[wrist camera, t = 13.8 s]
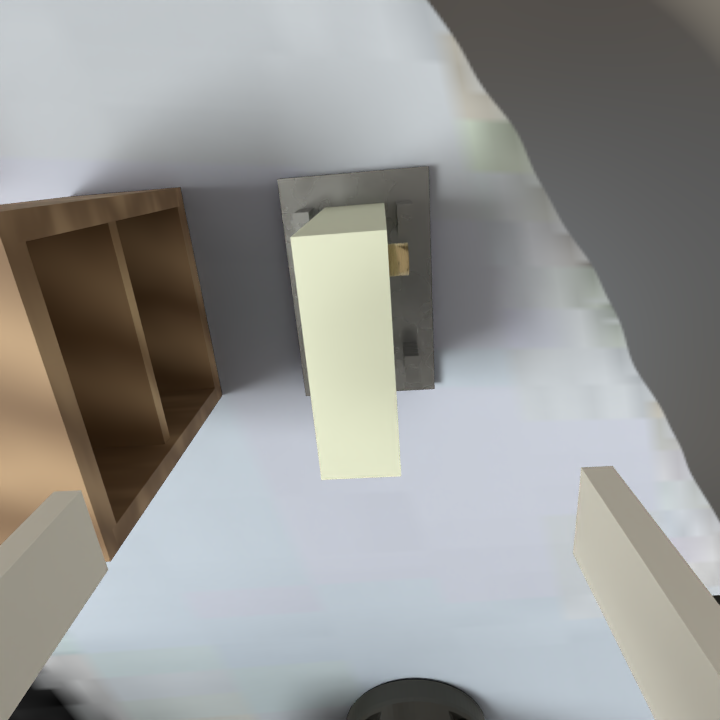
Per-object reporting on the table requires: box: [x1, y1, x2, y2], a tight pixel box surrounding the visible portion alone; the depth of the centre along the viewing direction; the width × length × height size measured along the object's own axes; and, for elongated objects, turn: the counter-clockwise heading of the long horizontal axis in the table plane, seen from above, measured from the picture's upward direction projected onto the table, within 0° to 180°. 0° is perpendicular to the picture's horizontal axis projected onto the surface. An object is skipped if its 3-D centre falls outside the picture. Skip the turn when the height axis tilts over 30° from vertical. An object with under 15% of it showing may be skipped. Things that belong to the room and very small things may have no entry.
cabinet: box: [0, 187, 222, 562], centre depth 29 cm, size 16×8×18 cm, turn 5°
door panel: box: [290, 203, 409, 480], centre depth 29 cm, size 12×5×14 cm, turn 5°
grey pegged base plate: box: [277, 166, 435, 396], centre depth 35 cm, size 16×10×4 cm, turn 5°
